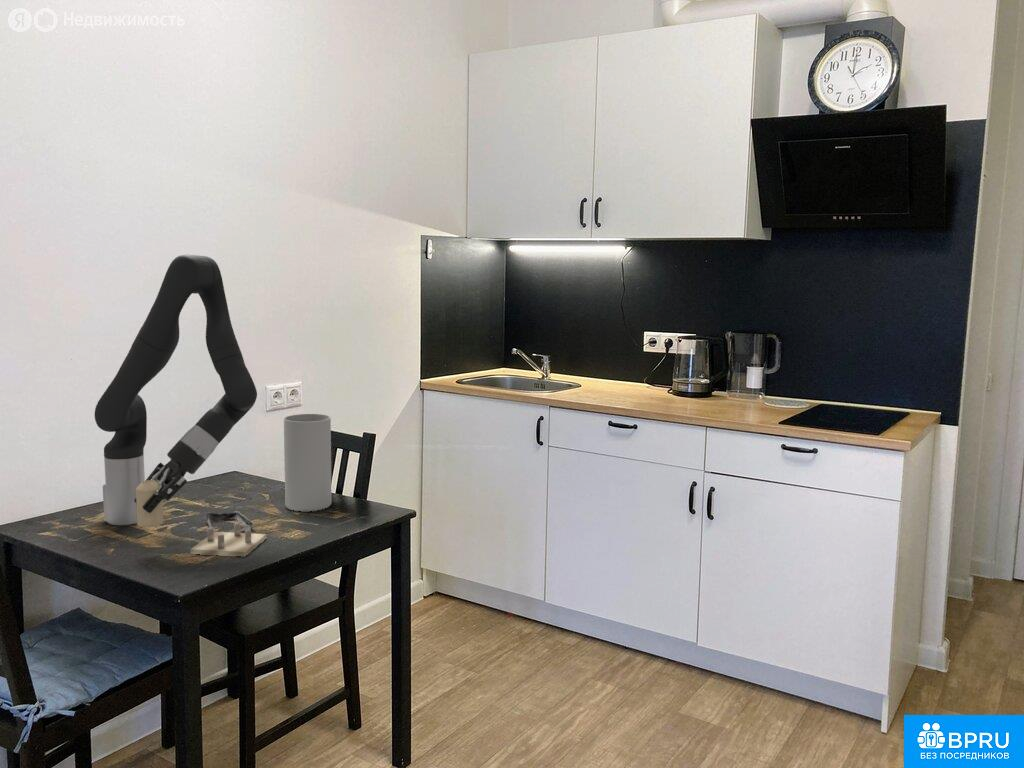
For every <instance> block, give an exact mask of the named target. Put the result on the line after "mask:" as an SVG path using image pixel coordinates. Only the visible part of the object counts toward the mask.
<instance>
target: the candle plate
mask: <svg viewBox="0 0 1024 768" xmlns="http://www.w3.org/2000/svg"><path fill="white" fill-rule="evenodd" d="M233 527H234V528H233V529H234V533H231V532H217V531H215V528H212V527H211V528H210V527H207V529H206V531H207V532H206V534H207V537H206V538H204V539H203V540H201V541H200V542H198V543H197V544H195V545H194V546H193V547H192V548H190V555H196V554H200V556H216V555H218V556H219V557H236V556H241V557H240V558H243V557H244V558H246V557H247V556H248V555H250V553H252V552H253V551H254V550H255V549H256V548H258V547H259V546H260V545H261V544H262V543H263V542H265V541H266V540H267V534H266V533H252V529H247V530H245V532H240V529H241V523H240V522H234V525H233ZM265 539H266V540H265ZM264 540H265V541H264ZM260 543H261V544H260ZM259 544H260V545H259ZM258 545H259V546H258ZM257 546H258V547H257ZM253 549H254V550H253ZM252 550H253V551H252ZM251 551H252V552H251ZM246 555H247V556H246ZM245 556H246V557H245Z"/></svg>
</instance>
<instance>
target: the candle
mask: <svg viewBox="0 0 1024 768" xmlns="http://www.w3.org/2000/svg"><path fill="white" fill-rule="evenodd" d="M158 487H159V486H158V482H156V481H155V480H152V479H151V480H147V481H145V482H143V481H142V482H141V483H140V484H139V486H138V487H137V488H136V502H137V523H136V525H137V526H138V527H140V528H154V527H158V526H161V525H163V524H164V501H163V500H162V501H161V502H160V503H159V504H158V505H157V506H156V508H155V509H154V510H153V511H152V512H151V513H148V512H147V511H146V510H144V509H143V505H144V504H145V503H146V502H147V501H148V500H149V499H150V497H151V496H152V495H153V494H154V495H155V492H156V490H157V489H158Z"/></svg>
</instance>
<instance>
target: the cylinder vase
mask: <svg viewBox="0 0 1024 768" xmlns="http://www.w3.org/2000/svg"><path fill="white" fill-rule="evenodd" d="M331 420H332V418H331V416H330V415H327V414H321V413H299V414H291V415H287V416H284V418H283V446H284V447H283V448H284V451H283V452H284V453H283V454H284V455H283V456H284V500H285V501H284V503H285V508H286V509H288V510H290V511H293V510H294V511H293V512H298V511H301V512H300V513H305V512H306V513H308V512H309V513H310V511H312V512H319V511H323V510H325V508H326V509H328V508H329V507H330V506H331V505H332V436H331V435H332V433H331V432H332V430H331V429H332V427H331V426H332V425H331V423H332V421H331ZM322 509H323V510H322ZM318 510H319V511H318Z"/></svg>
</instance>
